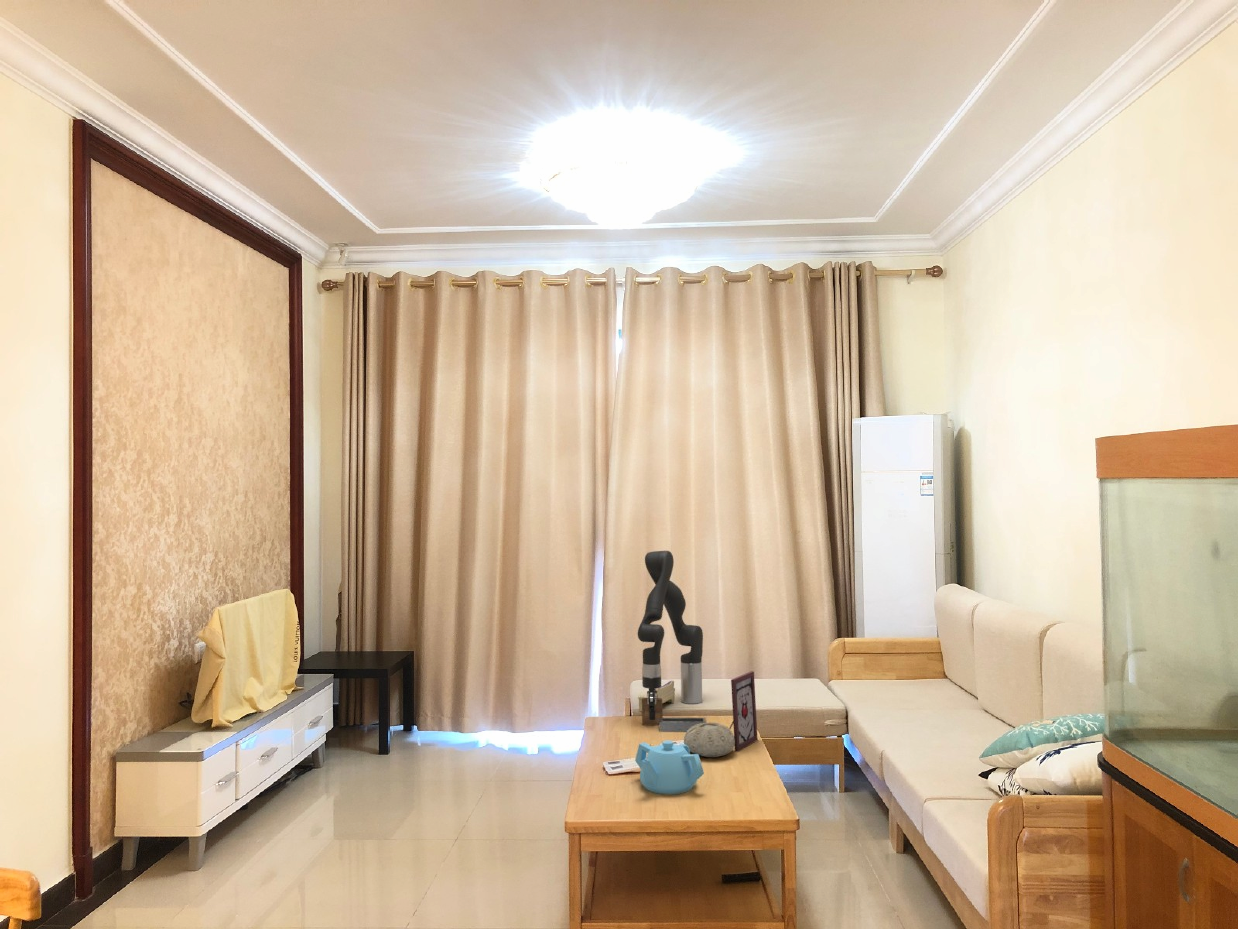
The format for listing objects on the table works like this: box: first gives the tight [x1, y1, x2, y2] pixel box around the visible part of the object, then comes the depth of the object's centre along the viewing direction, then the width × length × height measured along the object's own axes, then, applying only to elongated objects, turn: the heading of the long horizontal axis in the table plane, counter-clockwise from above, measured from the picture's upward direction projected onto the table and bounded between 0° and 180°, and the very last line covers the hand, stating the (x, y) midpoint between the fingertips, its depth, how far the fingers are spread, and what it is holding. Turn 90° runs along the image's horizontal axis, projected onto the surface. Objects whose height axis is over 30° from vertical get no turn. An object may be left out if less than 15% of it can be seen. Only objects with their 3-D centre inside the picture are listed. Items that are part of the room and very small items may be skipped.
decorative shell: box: [683, 721, 735, 758], centre depth 295 cm, size 18×18×10 cm
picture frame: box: [728, 670, 758, 753], centre depth 307 cm, size 17×10×25 cm, turn 146°
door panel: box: [641, 698, 664, 726], centre depth 335 cm, size 3×8×10 cm, turn 86°
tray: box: [658, 717, 707, 733], centre depth 327 cm, size 7×18×4 cm, turn 86°
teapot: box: [634, 740, 705, 795], centre depth 263 cm, size 19×19×14 cm
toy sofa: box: [637, 680, 676, 713], centre depth 362 cm, size 21×9×10 cm, turn 154°
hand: (652, 718), depth 334 cm, fingers closed on door panel, 3 cm apart
